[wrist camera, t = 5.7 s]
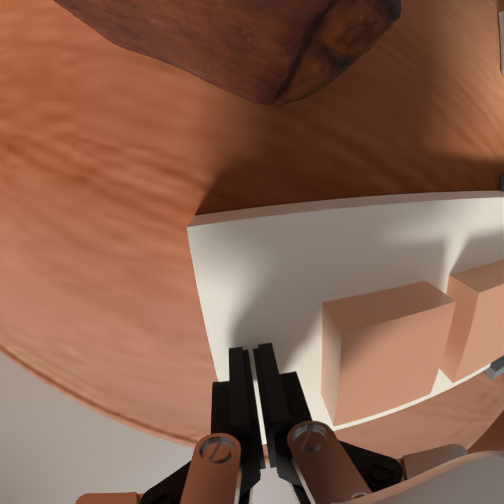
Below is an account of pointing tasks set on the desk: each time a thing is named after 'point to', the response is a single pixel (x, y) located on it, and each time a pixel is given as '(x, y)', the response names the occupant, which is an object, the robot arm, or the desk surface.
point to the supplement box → (502, 38)
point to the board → (329, 270)
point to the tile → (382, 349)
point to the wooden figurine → (246, 39)
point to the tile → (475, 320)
